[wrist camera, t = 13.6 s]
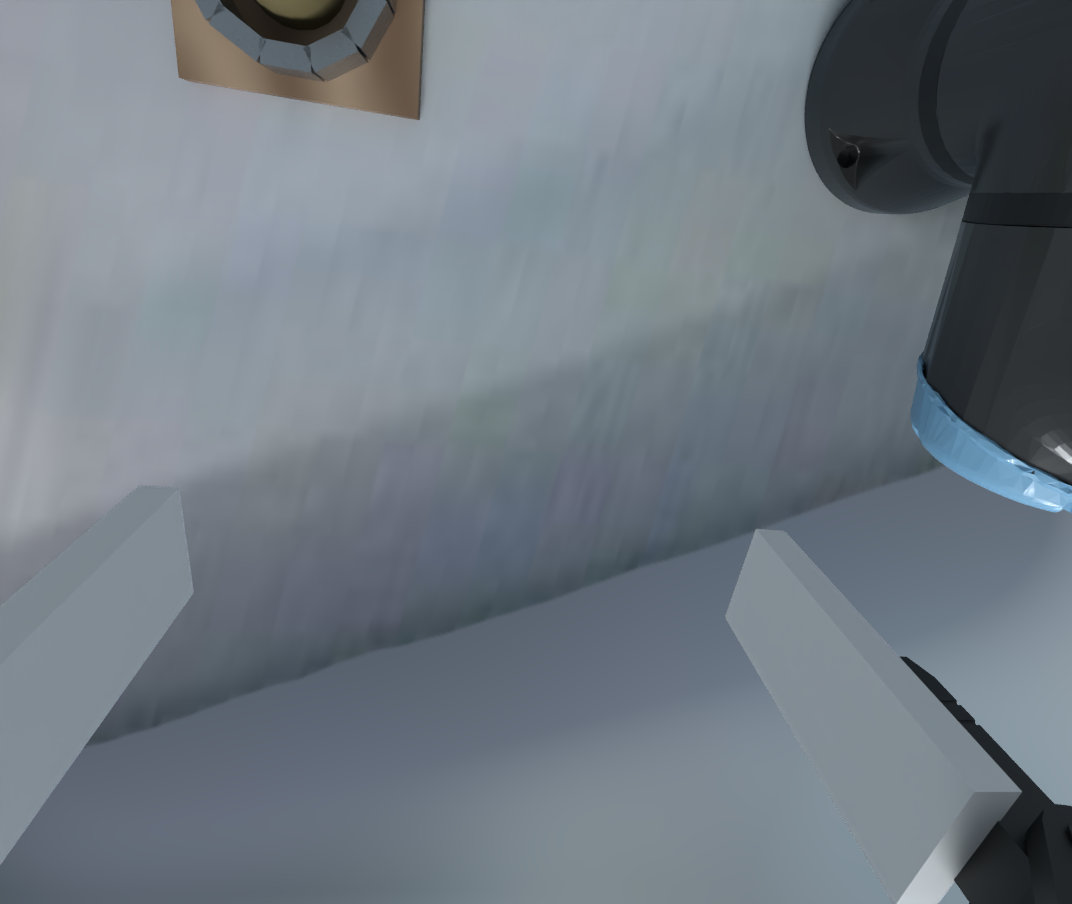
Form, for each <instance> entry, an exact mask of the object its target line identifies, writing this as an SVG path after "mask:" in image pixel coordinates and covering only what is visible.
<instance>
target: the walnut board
mask: <svg viewBox="0 0 1072 904" xmlns="http://www.w3.org/2000/svg"><path fill="white" fill-rule="evenodd" d="M233 1H234V3H235V5H236V7H237V9H238V11H239V13H240V14H241V16H242V18H243V20H244V22H246V23H247V24H248V25H249V26H251V27H252V28H253V29H254V30H256V31H257V32H258V33H259V34H260V35H262V36H263V37H264V38H265V39H270V40H276V41H281V42H286V43H292V44H297V45H303V46H308V45H310V44H312V43H314V42H316V41H318V40H320V39H322V38H324V37H326V36H328V35H330V34H333V33H335V32H337V31H339V30H341V29H343V28H344V26H345V24H346V23H347V21H348V19H349V17H350V15H351V13H352V12H353V10H354V8H355V6H356V4H357V2H358V0H345V1H344V3H343V6H342V8H341V11H340V12H339V13H338V14H337V15H336V16H335V17H334V18H333V19H332V20H331V22H330V23H328V24H326V25H324V26H322V27H319V28H317V29H315V30H296V29H293V28H290V27H286V26H283V25H281V24H280V23H278V22H277V21H275V20H274V19H273V18H271V17H270V16H268V15H267V14H266V13H265V12H264V11H263V10H262V9H261V7H260V6H259V5H258V4H257V3H256V1H255V0H233ZM171 6H172V15H173V25H174V35H175V44H176V54H177V64H178V73H179V78H182V79H184V80H187V81H191V82H197V83H203V84H209V85H215V86H221V87H226V88H232V89H238V90H244V91H250V92H256V93H262V94H268V95H274V96H280V97H286V98H291V99H297V100H303V101H309V102H315V103H321V104H327V105H333V106H339V107H345V108H351V109H356V110H362V111H368V112H374V113H380V114H386V115H392V116H398V117H404V118H410V119H416V120H419V118H420V96H421V75H422V53H423V31H424V10H425V0H396V12H395V13H393V16H394V19H393V21H392V23H391V24H390V26H389V28H388V30H387V31H386V33H385V35H384V37H383V38H382V40H381V42H380V44H379V46H378V47H377V49H376V51H375V53H374V54H373V56H372V58H371V60H370V59H368V58H367V57H366V56H365V55H364V56H365V58H366V60H367V62H368V63H366V64H364V65H362V66H360V67H358V68H355V69H353V70H351V71H349V72H347V73H345V74H343V75H341V76H339V77H337V78H335V79H333V80H330V81H326V80H325V79H324V82H320V81H315V80H309V79H303V78H298V77H292V76H286V75H280V74H277V73H275V72H273V71H271V70H269V69H268V68H266V67H264V66H263V65H261V64H259V63H258V62H256V61H255V60H254V59H252V58H251V57H250V56H249V55H247V54H246V53H245V52H244V51H242V50H241V49H240V48H239V47H237V46H236V45H235V44H233V43H232V42H231V41H230V40H228V39H227V38H226V37H225V36H223V35H222V34H221V33H220V32H218V31H217V30H216V29H215V28H213V27H212V26H211V25H210V24H209V22H208V21H207V20H205V18H204V16H203V14H202V13H201V11H200V9H199V7H198V5H197V3H196V2H195V0H171Z"/></svg>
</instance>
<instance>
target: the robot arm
mask: <svg viewBox="0 0 1072 904" xmlns="http://www.w3.org/2000/svg"><path fill="white" fill-rule="evenodd" d="M805 130H806V139H807V145H808V150H809V153H810V157H811V160H812V162H813V165H814V167H815V169H816V172H817V173H818V175H819V177H820V179H821V180H822V182H823V183H824V185H825V186H826V187H827V188H828V189H829V191H830V192H831V193H832V194H833V195H835V196H836V197H837V198H838V199H839V200H841V201H842V202H844V203H845V204H847V205H849V206H851V207H853V208H856V209H858V210H862V211H865V212H870V213H881V214H911V213H917V212H922V211H927V210H931V209H934V208H937V207H939V206H942V205H945V204H947V203H950V202H952V201H954V200H957V199H959V198H962V197H964V196H967V195H969V198H968V201H967V205H966V209H965V212H964V216H963V219H962V222H961V225H960V229H959V232H958V236H957V240H956V243H955V246H954V250H953V253H952V257H951V260H950V264H949V267H948V270H947V274H946V277H945V281H944V284H943V287H942V291H941V294H940V298H939V301H938V305H937V308H936V311H935V315H934V318H933V322H932V325H931V328H930V332H929V335H928V339H927V342H926V346H925V349H924V351H923V353H922V354H921V355H920V356H919V359H918V362H917V375H918V381H917V385H916V390H915V394H914V398H913V403H912V407H911V423H912V427H913V429H914V431H915V432H916V434H917V436H918V437H919V438H920V440H921V443H922V445H923V446H924V447H925V448H926V449H927V450H928V451H929V452H930V453H931V454H932V455H933V456H934V457H935V458H936V459H937V460H939V461H940V462H941V463H943V464H944V465H945V466H947V467H948V468H950V469H951V470H953V471H954V472H956V473H957V474H959V475H961V476H962V477H964V478H966V479H968V480H970V481H972V482H974V483H976V484H978V485H980V486H982V487H984V488H986V489H988V490H990V491H992V492H995V493H997V494H999V495H1002V496H1005V497H1007V498H1009V499H1012V500H1015V501H1017V502H1020V503H1023V504H1026V505H1029V506H1033V507H1036V508H1040V509H1043V510H1047V511H1052V512H1058V511H1061V510H1062V509H1064V510H1067V511H1069V512H1071V513H1072V0H852V1H851V2H850V3H849V5H848V6H847V7H846V8H845V9H844V11H843V12H842V13H841V15H840V16H839V18H838V19H837V21H836V22H835V24H834V25H833V27H832V29H831V30H830V32H829V34H828V36H827V37H826V39H825V41H824V43H823V45H822V48H821V50H820V52H819V54H818V57H817V60H816V62H815V65H814V68H813V71H812V75H811V79H810V83H809V87H808V92H807V99H806V109H805ZM193 593H194V591H193V584H192V577H191V569H190V562H189V555H188V548H187V541H186V534H185V526H184V519H183V512H182V505H181V498H180V490H179V488H171V487H157V486H143V485H139V486H138V487H137V488H136V489H135V490H134V491H132V492H131V493H130V494H129V495H128V496H127V497H126V498H124V499H123V500H122V501H121V502H120V503H119V504H117V505H116V506H115V507H114V508H113V509H112V510H111V511H109V512H108V513H107V514H106V515H105V516H104V517H102V518H101V519H100V520H99V521H98V522H97V523H95V524H94V525H93V526H92V527H91V528H90V529H89V530H87V531H86V532H85V533H84V534H83V535H82V536H80V537H79V538H78V539H77V540H76V541H75V542H73V543H72V544H71V545H70V546H69V547H68V548H67V549H65V550H64V551H63V552H62V553H61V554H60V555H58V556H57V557H56V558H55V559H54V560H53V561H52V562H50V563H49V564H48V565H47V566H46V567H45V568H43V569H42V570H41V571H40V572H39V573H38V574H36V575H35V576H34V577H33V578H32V579H31V580H30V581H28V582H27V583H26V584H25V585H24V586H23V587H21V588H20V589H19V590H18V591H17V592H16V593H14V594H13V595H12V596H11V597H10V598H9V599H8V600H6V601H5V602H4V603H3V604H2V605H1V606H0V865H1V863H2V862H3V860H4V859H5V858H6V856H7V855H8V853H9V852H10V850H11V849H12V848H13V846H14V845H15V843H16V842H17V841H18V839H19V838H20V836H21V835H22V834H23V832H24V830H25V829H26V828H27V826H28V825H29V824H30V822H31V821H32V820H33V818H34V817H35V815H36V814H37V812H38V811H39V810H40V808H41V807H42V805H43V804H44V803H45V801H46V800H47V798H48V797H49V796H50V794H51V793H52V791H53V790H54V788H55V787H56V786H57V784H58V783H59V782H60V780H61V778H62V777H63V776H64V774H65V773H66V772H67V770H68V769H69V767H70V766H71V765H72V763H73V762H74V760H75V759H76V758H77V756H78V755H79V753H80V752H81V751H82V749H83V748H84V746H85V745H86V744H87V742H88V741H89V739H90V738H91V736H92V735H93V734H94V732H95V731H96V729H97V728H98V727H99V725H100V724H101V722H102V721H103V720H104V718H105V717H106V715H107V714H108V713H109V711H110V710H111V708H112V707H113V705H114V704H115V703H116V701H117V700H118V698H119V697H120V696H121V694H122V693H123V691H124V690H125V689H126V687H127V686H128V684H129V683H130V682H131V680H132V679H133V677H134V676H135V675H136V673H137V672H138V670H139V669H140V667H141V666H142V665H143V663H144V662H145V660H146V659H147V658H148V656H149V655H150V653H151V652H152V651H153V649H154V648H155V646H156V645H157V644H158V642H159V641H160V639H161V638H162V637H163V635H164V634H165V632H166V631H167V629H168V628H169V627H170V625H171V624H172V622H173V621H174V620H175V618H176V617H177V615H178V614H179V613H180V611H181V610H182V608H183V607H184V606H185V604H186V603H187V601H188V600H189V599H190V597H191V596H192V594H193ZM725 618H726V620H727V621H728V623H729V625H730V626H731V628H732V630H733V632H734V633H735V635H736V637H737V638H738V640H739V642H740V643H741V645H742V647H743V649H744V650H745V652H746V654H747V655H748V657H749V659H750V660H751V662H752V664H753V666H754V667H755V669H756V671H757V672H758V674H759V676H760V678H761V679H762V681H763V683H764V684H765V686H766V688H767V689H768V691H769V693H770V695H771V696H772V698H773V700H774V702H775V703H776V705H777V707H778V708H779V710H780V712H781V714H782V715H783V717H784V719H785V720H786V722H787V723H788V726H789V727H790V729H791V730H792V732H793V734H794V736H795V737H796V739H797V741H798V742H799V744H800V746H801V747H802V749H803V751H804V753H805V755H806V756H807V758H808V759H809V761H810V763H811V765H812V767H813V768H814V770H815V772H816V773H817V775H818V777H819V779H820V780H821V782H822V783H823V785H824V787H825V789H826V790H827V792H828V794H829V796H830V797H831V799H832V801H833V802H834V804H835V806H836V808H837V809H838V811H839V812H840V814H841V816H842V818H843V819H844V821H845V823H846V825H847V826H848V828H849V830H850V832H851V833H852V835H853V837H854V838H855V840H856V842H857V843H858V845H859V847H860V849H861V850H862V852H863V853H864V855H865V857H866V859H867V860H868V862H869V864H870V866H871V867H872V869H873V871H874V872H875V874H876V876H877V878H878V879H879V881H880V883H881V884H882V886H883V888H884V890H885V891H886V893H887V895H888V896H889V898H890V900H891V902H892V903H893V904H938V903H939V902H940V901H941V899H942V898H943V896H944V895H945V894H946V893H947V891H948V890H949V889H950V887H951V886H952V885H953V883H954V882H956V884H957V885H958V886H959V888H960V889H961V890H962V892H963V894H964V895H965V897H966V898H967V899H968V901H969V902H970V903H969V904H1072V807H1071V806H1067V805H1058V804H1054V803H1053V802H1052V801H1051V800H1050V799H1049V798H1048V797H1047V796H1046V795H1045V794H1044V793H1043V792H1042V790H1040V788H1039V787H1038V786H1037V785H1036V784H1035V783H1034V782H1033V781H1032V780H1031V779H1030V778H1029V777H1028V776H1027V775H1026V773H1025V772H1024V771H1023V770H1022V769H1021V768H1020V767H1019V766H1018V765H1017V764H1016V763H1015V762H1014V761H1013V760H1012V759H1011V758H1010V757H1009V755H1008V754H1007V753H1006V752H1005V751H1004V750H1003V749H1002V748H1001V747H1000V746H999V745H998V744H997V743H996V742H995V741H994V740H993V739H992V737H990V736H989V734H988V733H987V732H986V731H985V730H984V729H983V728H982V727H981V726H980V725H976V724H975V720H974V718H973V717H972V716H971V715H970V714H969V713H968V712H967V711H966V710H965V709H964V708H963V707H962V706H961V705H957V701H956V699H955V698H954V697H953V696H952V695H951V694H950V693H949V692H948V691H947V690H946V689H945V688H944V687H943V686H942V685H941V684H940V682H938V680H937V679H936V678H935V677H934V676H932V675H931V674H929V673H928V672H926V671H925V670H924V669H922V668H921V667H920V666H918V665H917V664H915V663H914V662H913V661H912V660H910V659H909V658H907V657H899V656H898V655H897V654H896V653H895V651H893V649H892V648H891V647H890V646H889V645H888V644H887V643H886V642H885V641H884V639H883V638H882V637H881V636H880V635H879V634H878V633H877V632H876V631H875V630H874V628H873V627H872V626H871V625H870V624H869V623H868V622H867V621H866V620H865V619H864V618H863V616H862V615H861V614H860V613H859V612H858V611H857V610H856V609H855V608H854V607H853V605H852V604H851V603H850V602H849V601H848V600H847V599H846V598H845V597H844V596H843V594H842V593H841V592H840V591H839V590H838V589H837V588H836V587H835V586H834V585H833V583H832V582H831V581H830V580H829V579H828V578H827V577H826V576H825V575H824V574H823V572H822V571H821V570H820V569H819V568H818V567H817V566H816V565H815V564H814V563H813V562H812V560H811V559H810V558H809V557H808V556H807V555H806V554H805V553H804V552H803V551H802V549H801V548H800V547H799V546H798V545H797V544H796V543H795V542H794V541H793V540H792V538H791V537H790V536H789V535H788V534H787V533H786V532H785V531H776V530H762V529H756V531H755V534H754V536H753V539H752V542H751V545H750V548H749V551H748V553H747V556H746V559H745V562H744V565H743V568H742V570H741V573H740V576H739V579H738V582H737V585H736V587H735V590H734V593H733V596H732V599H731V602H730V604H729V607H728V610H727V613H726V616H725Z"/></svg>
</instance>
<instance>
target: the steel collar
mask: <svg viewBox="0 0 1072 904" xmlns="http://www.w3.org/2000/svg"><path fill="white" fill-rule="evenodd" d="M195 2H196V3H197V5H198V7H199V9H200V11H201V13H202V14H203V16H204V18H205V20H207V21H208V22H209V24H210V25H211V26H212V27H213V28H215V29H216V30H217V31H218V32H220V33H221V34H222V35H223V36H225V37H226V38H227V39H228V40H230V41H231V42H232V43H233V44H235V45H236V46H237V47H239V48H240V49H241V50H242V51H244V52H245V53H246V54H247V55H249V56H250V57H251V58H252V59H254V60H255V61H256V62H258V63H259V64H261V65H263V66H264V67H266V68H268V69H269V70H271V71H273V72H275V73H277V74H280V75H286V76H292V77H298V78H303V79H309V80H315V81H320V82H324V79H325V80H326V81H330V80H333V79H335V78H337V77H339V76H341V75H343V74H345V73H347V72H349V71H351V70H353V69H355V68H358V67H360V66H362V65H364V64H366V63H368V62H367V60H366V58H365V56H366V57H367V58H368V59H370V60H371V58H372V56H373V54H374V53H375V51H376V49H377V47H378V46H379V44H380V42H381V40H382V38H383V37H384V35H385V33H386V31H387V30H388V28H389V26H390V24H391V23H392V21H393V19H394V16H393V13H395V12H396V0H358V2H357V4H356V6H355V8H354V10H353V12H352V13H351V15H350V17H349V19H348V21H347V23H346V24H345V26H344V28H343V29H341V30H339V31H337V32H335V33H333V34H330V35H328V36H326V37H324V38H322V39H320V40H318V41H316V42H314V43H312V44H310V45H308V46H303V45H297V44H292V43H286V42H281V41H276V40H270V39H265V38H264V37H263V36H262V35H260V34H259V33H258V32H257V31H256V30H254V29H253V28H252V27H251V26H249V25H248V24H247V23H246V22H244V20H243V18H242V16H241V14H240V13H239V11H238V9H237V7H236V5H235V3H234V1H233V0H195ZM364 55H365V56H364Z"/></svg>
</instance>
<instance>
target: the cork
mask: <svg viewBox="0 0 1072 904" xmlns="http://www.w3.org/2000/svg"><path fill="white" fill-rule="evenodd" d="M255 1H256V3H257V4H258V5H259V6H260V7H261V9H262V10H263V11H264V12H265V13H266V14H267V15H268V16H270V17H271V18H273V19H274V20H275V21H277V22H278V23H280V24H281V25H283V26H286V27H290V28H293V29H296V30H315V29H317V28H319V27H322V26H324V25H326V24H328V23H330V22H331V20H332V19H333V18H334V17H335V16H336V15H337V14H338V13H339V12H340V11H341V8H342V6H343V3H344V1H345V0H255Z"/></svg>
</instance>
